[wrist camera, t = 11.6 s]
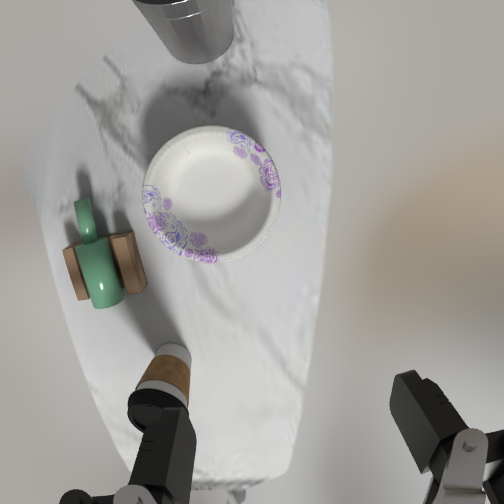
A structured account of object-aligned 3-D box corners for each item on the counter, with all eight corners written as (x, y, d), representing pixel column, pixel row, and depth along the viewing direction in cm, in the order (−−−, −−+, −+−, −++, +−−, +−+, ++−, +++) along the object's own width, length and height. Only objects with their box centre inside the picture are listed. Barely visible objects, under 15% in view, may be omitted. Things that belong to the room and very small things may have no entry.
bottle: (104, 294, 42) (79, 200, 38) (129, 292, 41) (104, 193, 37) (87, 309, 37) (58, 206, 33) (113, 308, 37) (84, 199, 32)
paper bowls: (295, 168, 38) (308, 169, 30) (238, 264, 41) (237, 287, 34) (194, 112, 35) (182, 100, 28) (141, 212, 39) (119, 224, 31)
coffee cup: (198, 338, 45) (183, 407, 30) (200, 378, 47) (189, 446, 33) (147, 333, 44) (116, 396, 30) (152, 373, 47) (130, 437, 32)
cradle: (72, 243, 40) (62, 249, 36) (133, 230, 39) (125, 236, 36) (87, 291, 42) (78, 300, 39) (147, 283, 42) (140, 292, 39)
